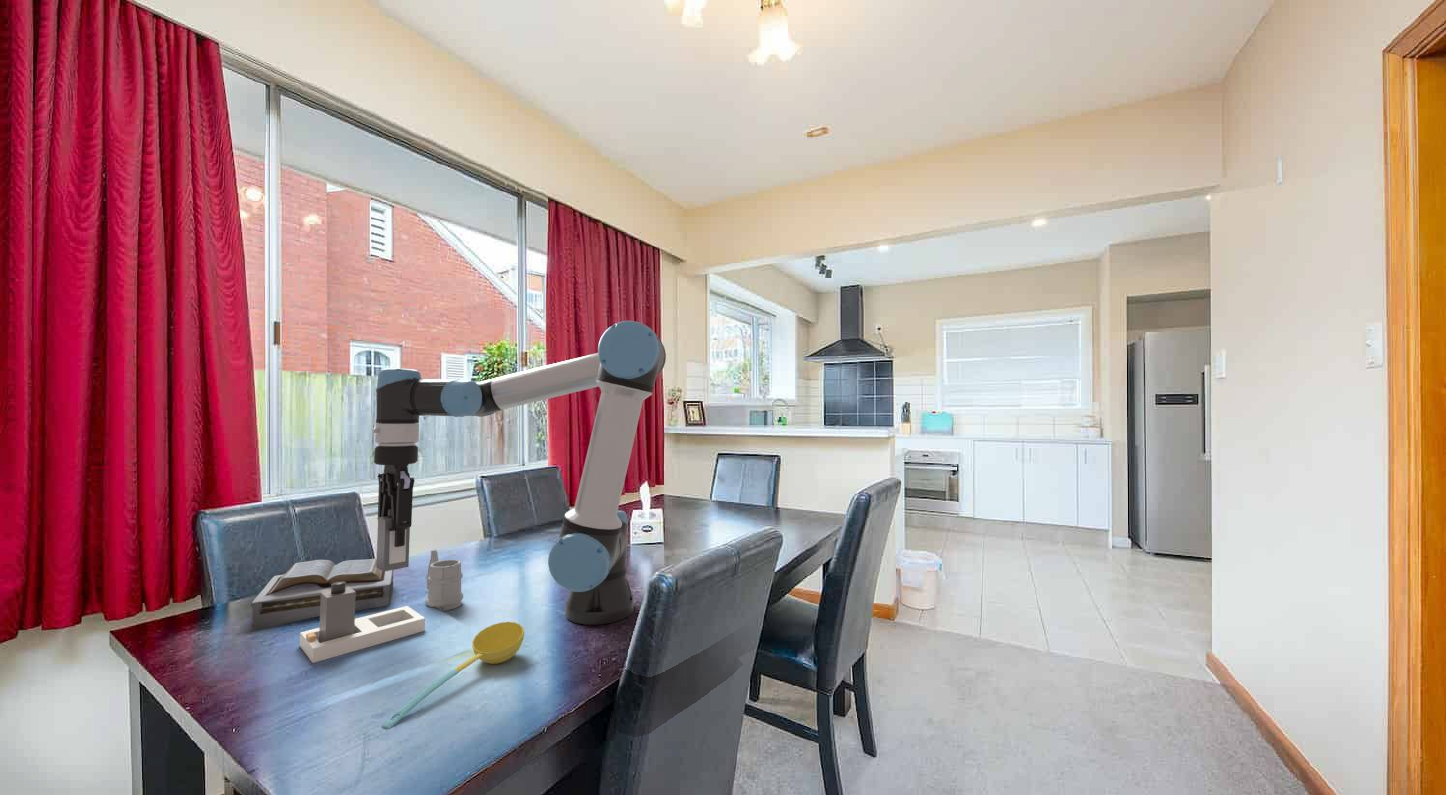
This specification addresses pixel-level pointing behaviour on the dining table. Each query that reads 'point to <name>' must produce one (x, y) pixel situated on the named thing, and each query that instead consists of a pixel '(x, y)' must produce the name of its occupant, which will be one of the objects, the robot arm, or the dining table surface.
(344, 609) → the twin plug
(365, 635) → the strip
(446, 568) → the mug
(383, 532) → the plug
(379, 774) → the dining table surface
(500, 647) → the ladle
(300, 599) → the bible
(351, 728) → the dining table surface
